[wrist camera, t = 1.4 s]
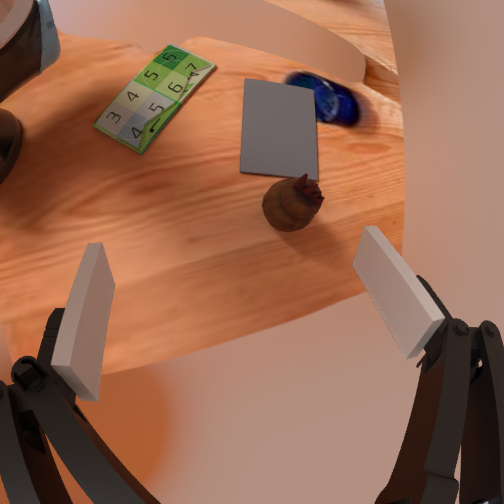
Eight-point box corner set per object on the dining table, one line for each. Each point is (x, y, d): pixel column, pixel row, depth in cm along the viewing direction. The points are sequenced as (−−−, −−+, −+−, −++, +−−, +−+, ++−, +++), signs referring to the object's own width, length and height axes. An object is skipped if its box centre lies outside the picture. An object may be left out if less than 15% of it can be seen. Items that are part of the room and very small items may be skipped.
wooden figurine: (249, 203, 43) (279, 171, 28) (280, 183, 44) (321, 145, 30) (276, 242, 44) (319, 228, 29) (306, 220, 45) (358, 199, 30)
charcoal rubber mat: (316, 181, 45) (317, 180, 45) (239, 172, 43) (240, 171, 42) (312, 91, 47) (313, 90, 46) (244, 80, 44) (245, 78, 44)
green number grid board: (216, 68, 44) (170, 46, 43) (216, 63, 43) (170, 42, 41) (141, 156, 41) (94, 128, 39) (140, 153, 40) (92, 124, 38)
